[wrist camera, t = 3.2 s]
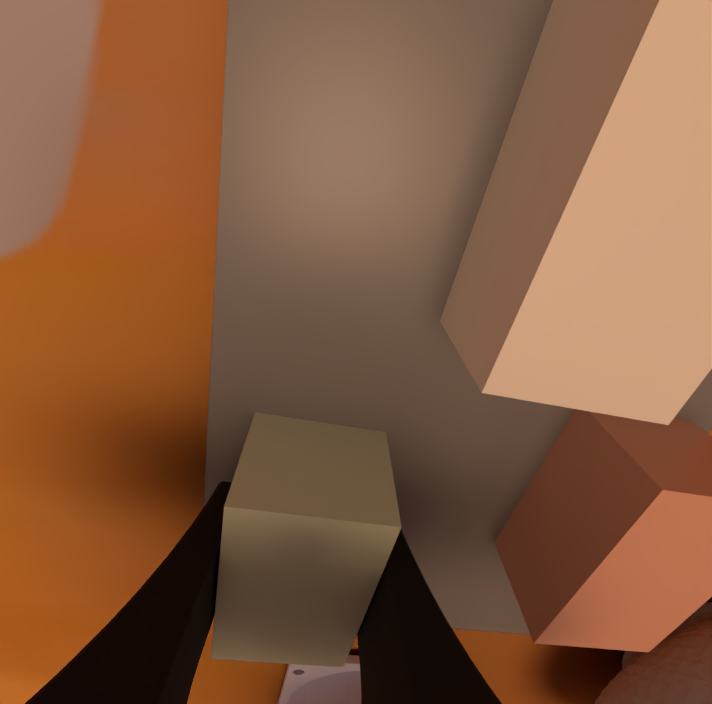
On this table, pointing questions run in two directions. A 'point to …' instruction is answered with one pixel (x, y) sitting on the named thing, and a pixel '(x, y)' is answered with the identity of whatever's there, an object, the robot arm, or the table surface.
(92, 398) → the table surface
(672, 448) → the terracotta brick
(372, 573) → the sage brick
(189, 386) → the table surface
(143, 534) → the table surface
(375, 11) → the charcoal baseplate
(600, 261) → the cream base brick
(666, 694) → the cereal bowl
